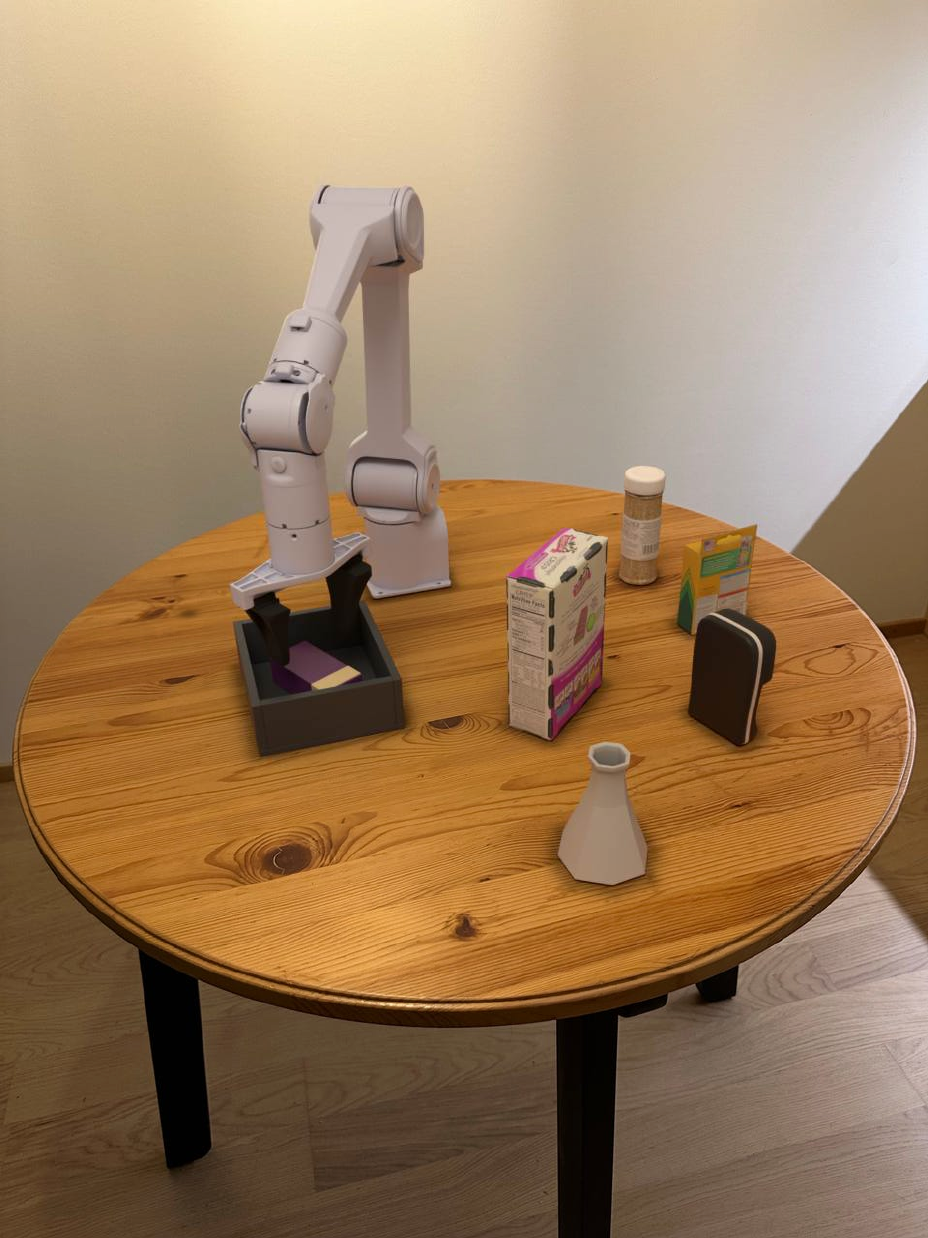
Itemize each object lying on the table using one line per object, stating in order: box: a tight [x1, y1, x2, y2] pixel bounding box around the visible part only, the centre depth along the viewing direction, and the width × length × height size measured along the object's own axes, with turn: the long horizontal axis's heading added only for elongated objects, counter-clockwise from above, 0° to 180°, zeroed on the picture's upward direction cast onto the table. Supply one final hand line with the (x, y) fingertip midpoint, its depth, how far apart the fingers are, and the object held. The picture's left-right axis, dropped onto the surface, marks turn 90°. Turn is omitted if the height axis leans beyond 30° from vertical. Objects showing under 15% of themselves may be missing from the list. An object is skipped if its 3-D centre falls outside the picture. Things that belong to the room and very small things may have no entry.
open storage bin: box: [232, 599, 405, 758], centre depth 97 cm, size 14×16×6 cm
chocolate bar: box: [270, 641, 362, 695], centre depth 97 cm, size 4×9×3 cm, turn 45°
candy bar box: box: [505, 527, 609, 742], centre depth 92 cm, size 11×5×16 cm, turn 148°
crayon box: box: [676, 523, 758, 637], centre depth 106 cm, size 7×3×12 cm, turn 115°
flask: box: [557, 741, 649, 886], centre depth 76 cm, size 7×7×10 cm
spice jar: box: [618, 465, 667, 586], centre depth 115 cm, size 5×5×14 cm
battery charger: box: [687, 608, 777, 746], centre depth 90 cm, size 7×4×11 cm, turn 35°
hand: (312, 645), depth 95 cm, fingers open, 7 cm apart
